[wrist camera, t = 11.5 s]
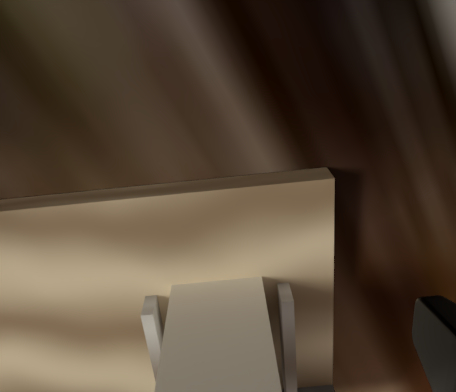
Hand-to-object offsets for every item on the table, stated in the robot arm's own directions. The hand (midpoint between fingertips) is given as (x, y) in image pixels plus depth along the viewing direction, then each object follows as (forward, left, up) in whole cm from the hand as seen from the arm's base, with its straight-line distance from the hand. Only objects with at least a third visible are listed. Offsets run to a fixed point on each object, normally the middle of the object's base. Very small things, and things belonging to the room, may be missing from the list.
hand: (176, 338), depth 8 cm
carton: (+10, 0, -12) cm, 16 cm away
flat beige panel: (+9, -5, -13) cm, 17 cm away
